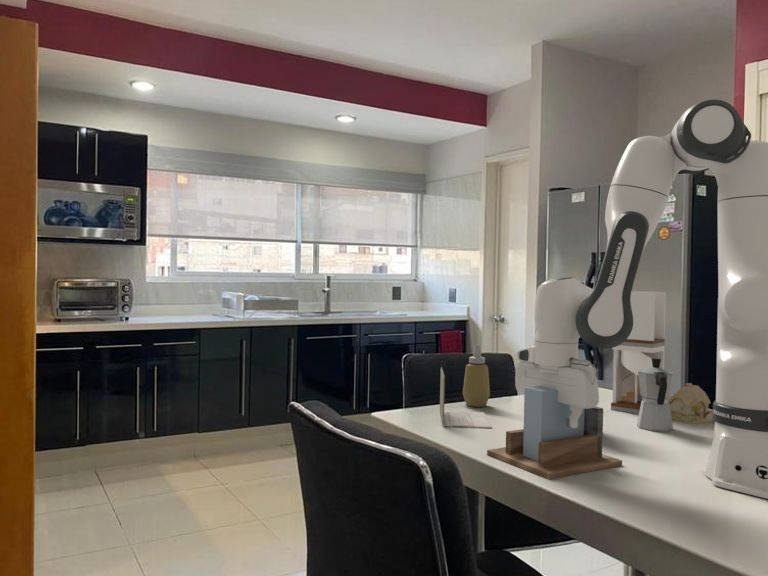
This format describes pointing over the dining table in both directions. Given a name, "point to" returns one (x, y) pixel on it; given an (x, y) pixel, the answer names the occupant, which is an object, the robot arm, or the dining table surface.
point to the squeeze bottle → (476, 381)
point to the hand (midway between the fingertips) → (554, 422)
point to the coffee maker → (655, 398)
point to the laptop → (460, 414)
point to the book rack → (561, 451)
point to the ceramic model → (690, 405)
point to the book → (545, 419)
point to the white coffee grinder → (638, 349)
